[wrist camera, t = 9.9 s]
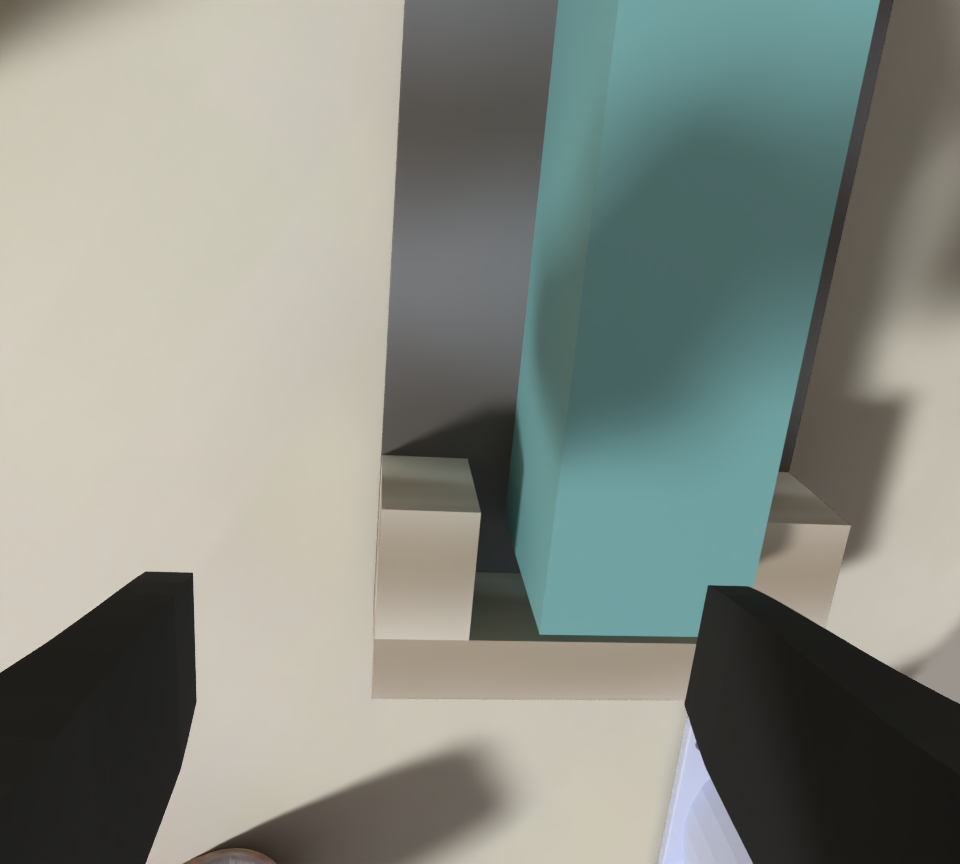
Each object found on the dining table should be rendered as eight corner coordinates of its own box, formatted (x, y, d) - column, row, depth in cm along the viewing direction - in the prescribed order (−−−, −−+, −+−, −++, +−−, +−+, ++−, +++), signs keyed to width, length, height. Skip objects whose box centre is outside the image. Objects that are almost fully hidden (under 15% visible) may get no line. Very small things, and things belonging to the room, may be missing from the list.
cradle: (739, 609, 23) (806, 701, 20) (373, 602, 22) (371, 698, 18) (953, -397, 16) (1124, -554, 12) (429, -494, 15) (445, -701, 11)
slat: (663, 524, 21) (742, 637, 16) (504, 519, 21) (539, 634, 16) (796, -251, 16) (968, -408, 11) (587, -284, 15) (676, -461, 11)
